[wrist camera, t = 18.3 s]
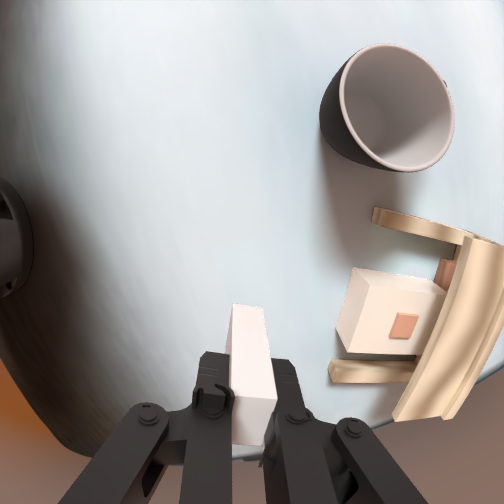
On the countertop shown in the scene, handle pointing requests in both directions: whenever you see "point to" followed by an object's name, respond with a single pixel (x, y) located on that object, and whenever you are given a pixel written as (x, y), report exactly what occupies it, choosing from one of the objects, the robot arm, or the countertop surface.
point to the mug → (388, 110)
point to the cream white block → (388, 313)
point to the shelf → (443, 325)
